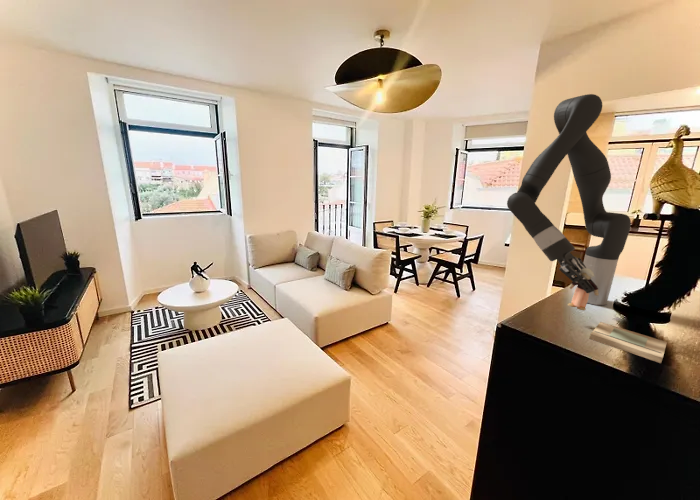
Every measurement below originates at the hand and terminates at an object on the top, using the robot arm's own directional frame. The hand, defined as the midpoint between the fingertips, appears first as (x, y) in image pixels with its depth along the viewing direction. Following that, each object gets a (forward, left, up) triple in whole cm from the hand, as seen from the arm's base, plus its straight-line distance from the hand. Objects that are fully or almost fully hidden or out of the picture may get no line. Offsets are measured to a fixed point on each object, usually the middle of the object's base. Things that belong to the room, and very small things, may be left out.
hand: (592, 290), depth 85 cm
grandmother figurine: (+1, -2, -7) cm, 7 cm away
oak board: (+2, +10, -12) cm, 16 cm away
